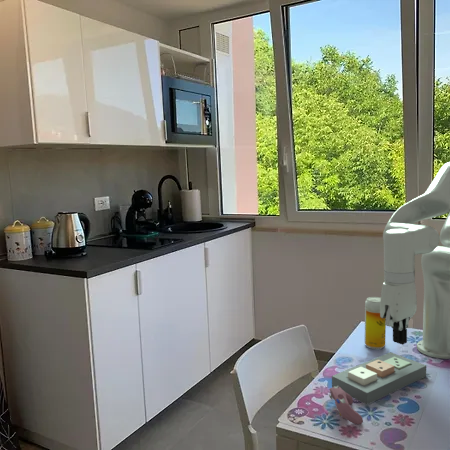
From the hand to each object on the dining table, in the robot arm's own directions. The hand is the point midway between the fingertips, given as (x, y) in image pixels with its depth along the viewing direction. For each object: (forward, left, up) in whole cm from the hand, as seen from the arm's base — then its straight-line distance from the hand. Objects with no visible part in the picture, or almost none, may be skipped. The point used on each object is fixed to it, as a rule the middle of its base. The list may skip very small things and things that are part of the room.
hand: (399, 342), depth 124 cm
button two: (+8, 0, -7) cm, 11 cm away
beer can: (-10, -15, -9) cm, 20 cm away
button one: (+15, 0, -7) cm, 17 cm away
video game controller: (+27, +5, -9) cm, 29 cm away
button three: (+1, 0, -8) cm, 8 cm away
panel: (+8, 0, -9) cm, 12 cm away
